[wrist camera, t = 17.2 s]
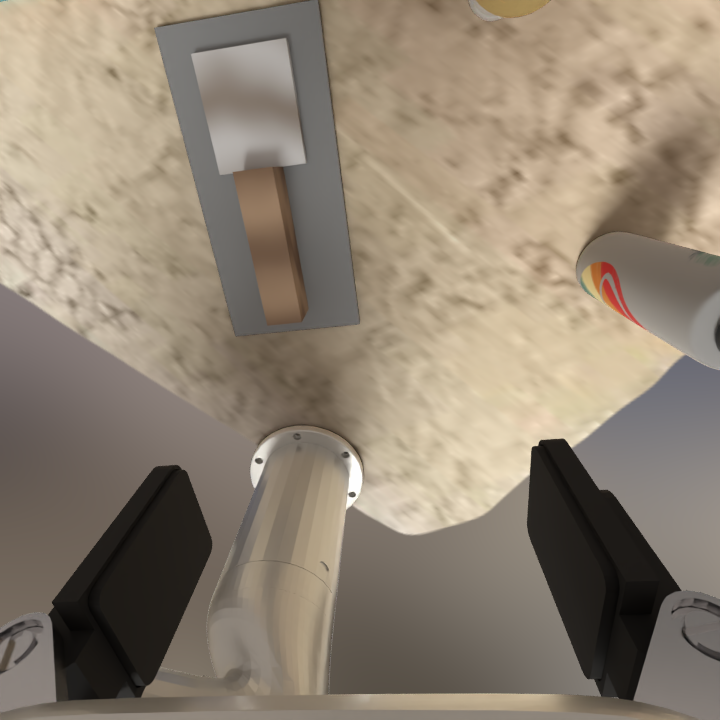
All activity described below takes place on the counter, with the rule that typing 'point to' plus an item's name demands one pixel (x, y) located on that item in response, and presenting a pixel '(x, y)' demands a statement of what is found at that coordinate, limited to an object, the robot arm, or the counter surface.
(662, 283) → the lotion bottle
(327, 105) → the mat
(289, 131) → the turner
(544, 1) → the light bulb
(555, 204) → the counter surface
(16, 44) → the counter surface
